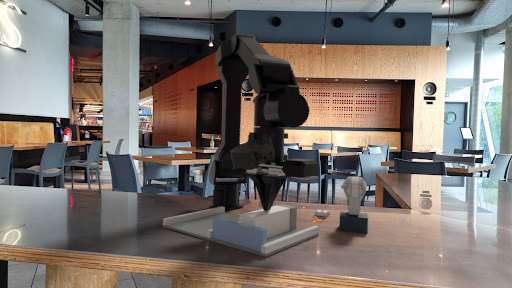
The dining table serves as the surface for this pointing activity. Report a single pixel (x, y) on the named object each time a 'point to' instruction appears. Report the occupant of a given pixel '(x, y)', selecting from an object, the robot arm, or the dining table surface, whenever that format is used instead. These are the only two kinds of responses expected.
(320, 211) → the key chain
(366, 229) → the bust statue
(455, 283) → the dining table surface
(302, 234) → the grey rimmed tray
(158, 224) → the dining table surface
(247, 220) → the cream rectangular block
